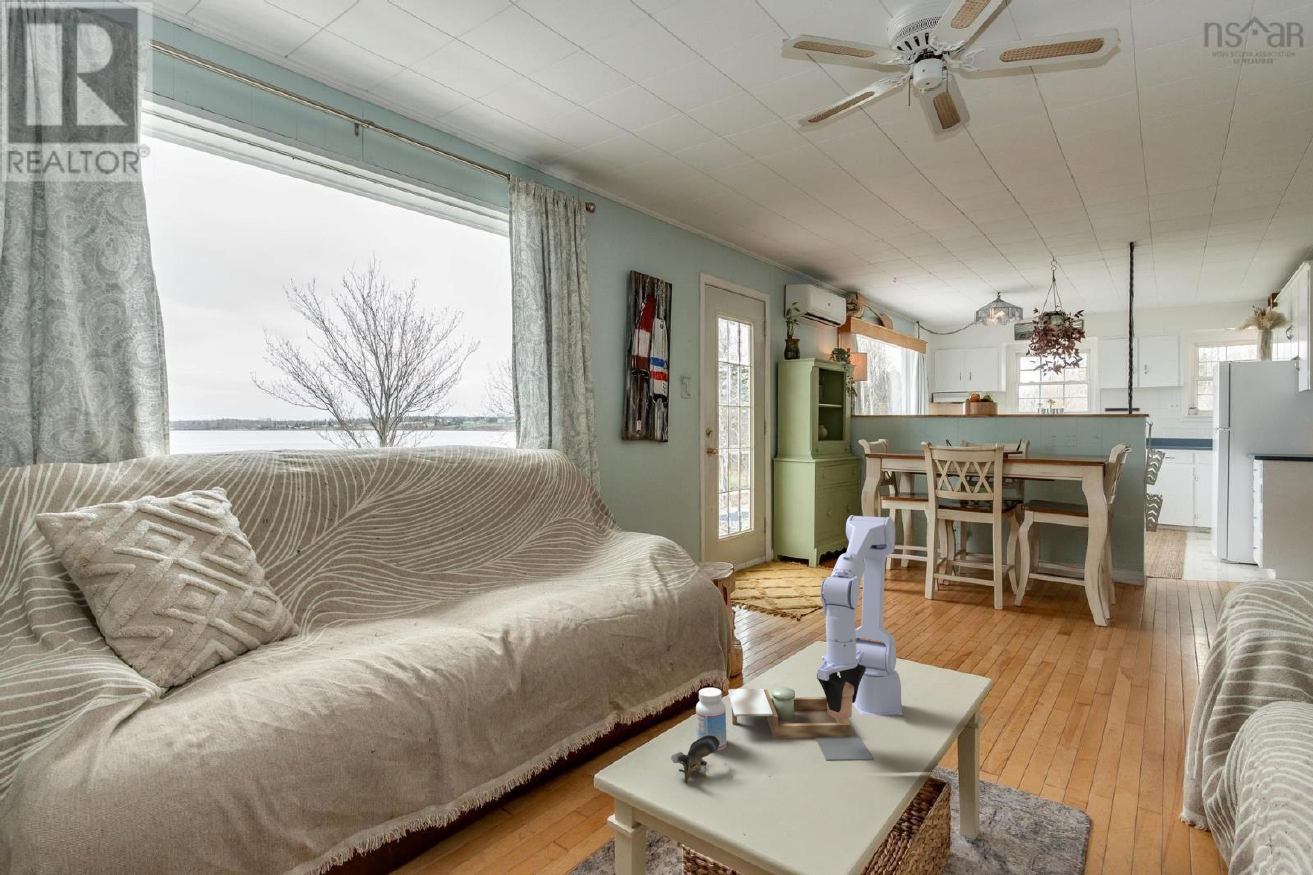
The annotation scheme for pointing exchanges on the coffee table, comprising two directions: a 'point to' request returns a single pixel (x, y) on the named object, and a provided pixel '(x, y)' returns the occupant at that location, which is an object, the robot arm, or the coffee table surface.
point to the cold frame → (805, 723)
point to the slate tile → (843, 748)
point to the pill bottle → (711, 715)
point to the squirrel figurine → (696, 755)
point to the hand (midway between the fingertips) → (842, 705)
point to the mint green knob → (784, 702)
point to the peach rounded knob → (844, 703)
